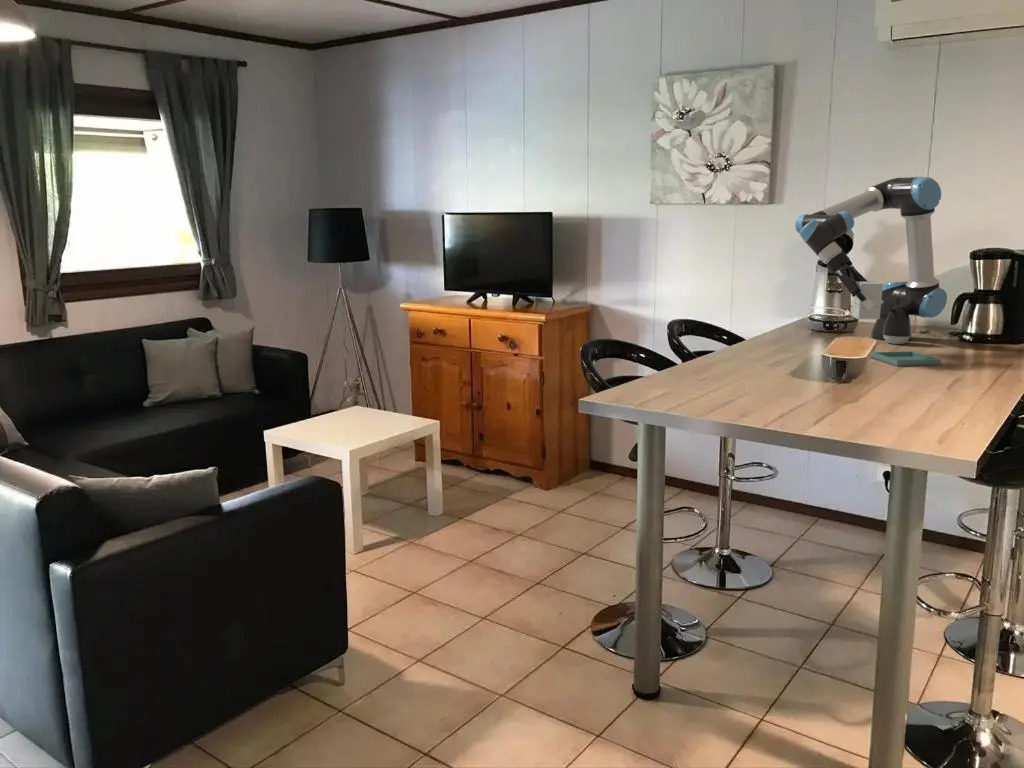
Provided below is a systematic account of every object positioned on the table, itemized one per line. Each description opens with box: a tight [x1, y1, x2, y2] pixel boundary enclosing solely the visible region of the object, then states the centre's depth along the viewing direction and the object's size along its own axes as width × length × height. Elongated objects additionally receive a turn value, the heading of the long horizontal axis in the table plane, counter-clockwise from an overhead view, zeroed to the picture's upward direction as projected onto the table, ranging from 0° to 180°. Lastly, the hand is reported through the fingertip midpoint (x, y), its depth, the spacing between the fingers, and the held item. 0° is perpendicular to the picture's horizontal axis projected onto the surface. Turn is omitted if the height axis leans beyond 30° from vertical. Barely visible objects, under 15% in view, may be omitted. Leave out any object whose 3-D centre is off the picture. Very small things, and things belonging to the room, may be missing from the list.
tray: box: [870, 350, 942, 367], centre depth 291 cm, size 16×16×2 cm
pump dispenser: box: [883, 305, 912, 345], centre depth 327 cm, size 10×10×15 cm
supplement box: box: [852, 280, 883, 320], centre depth 292 cm, size 7×7×13 cm
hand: (876, 306), depth 290 cm, fingers closed on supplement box, 10 cm apart
